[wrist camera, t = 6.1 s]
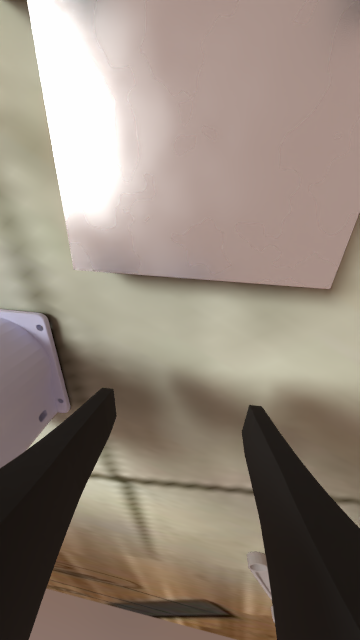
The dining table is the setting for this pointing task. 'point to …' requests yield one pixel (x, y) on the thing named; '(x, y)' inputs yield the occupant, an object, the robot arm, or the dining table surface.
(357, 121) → the plate
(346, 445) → the dining table surface
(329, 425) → the dining table surface
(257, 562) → the adjustable wrench
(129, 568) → the dining table surface
